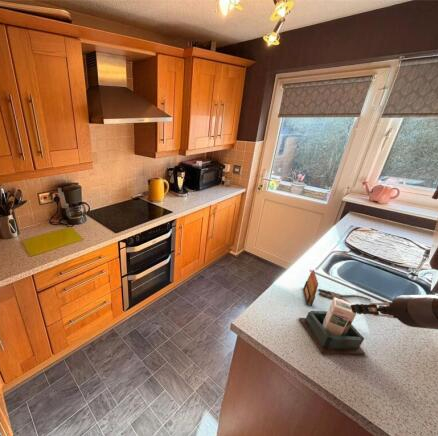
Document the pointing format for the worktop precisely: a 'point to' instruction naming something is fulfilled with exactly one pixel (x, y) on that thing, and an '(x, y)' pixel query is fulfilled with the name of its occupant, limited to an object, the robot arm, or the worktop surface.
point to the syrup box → (338, 317)
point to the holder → (331, 343)
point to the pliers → (338, 295)
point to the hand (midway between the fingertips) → (367, 309)
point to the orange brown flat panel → (310, 288)
